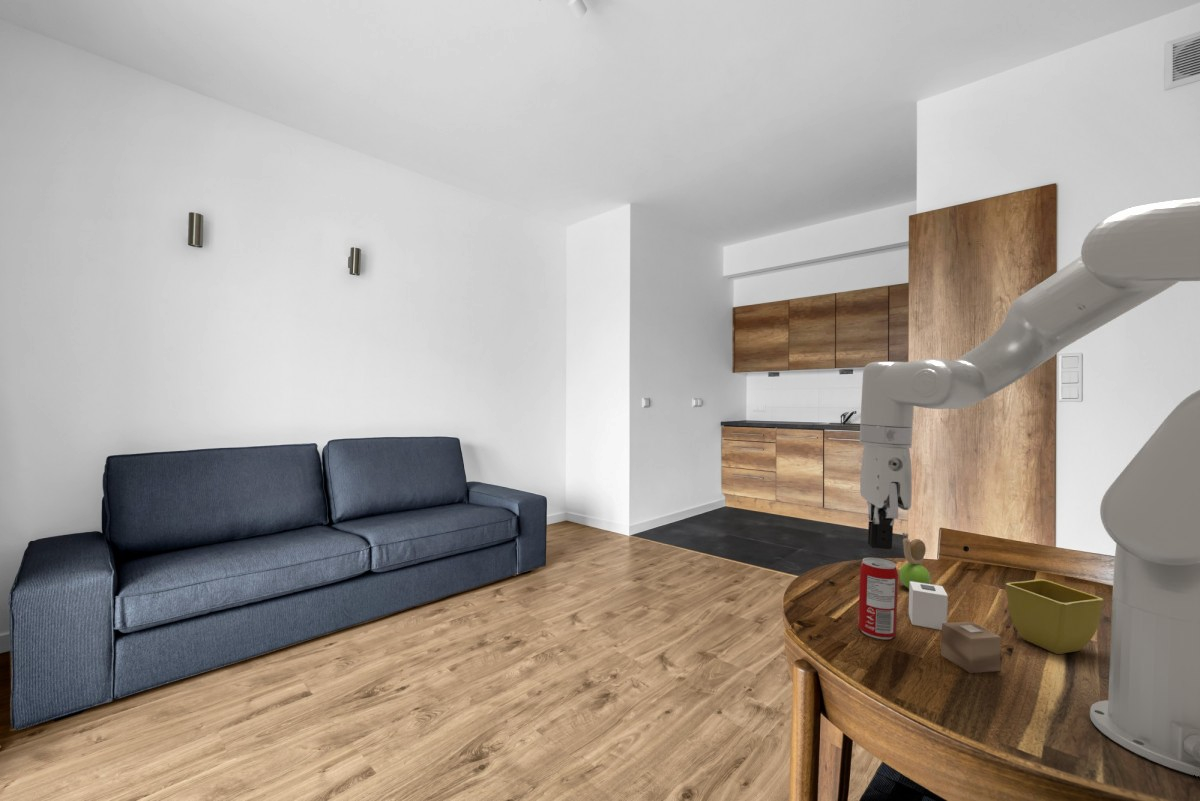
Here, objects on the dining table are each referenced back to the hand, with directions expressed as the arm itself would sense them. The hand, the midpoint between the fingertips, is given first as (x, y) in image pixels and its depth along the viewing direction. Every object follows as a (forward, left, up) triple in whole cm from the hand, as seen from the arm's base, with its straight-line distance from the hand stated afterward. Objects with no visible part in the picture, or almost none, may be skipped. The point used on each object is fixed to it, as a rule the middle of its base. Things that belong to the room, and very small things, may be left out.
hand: (879, 546), depth 84 cm
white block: (+7, -10, -14) cm, 19 cm away
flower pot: (+2, -26, -15) cm, 30 cm away
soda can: (0, 0, -15) cm, 15 cm away
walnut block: (-7, -10, -14) cm, 19 cm away
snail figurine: (+23, -14, -15) cm, 30 cm away
